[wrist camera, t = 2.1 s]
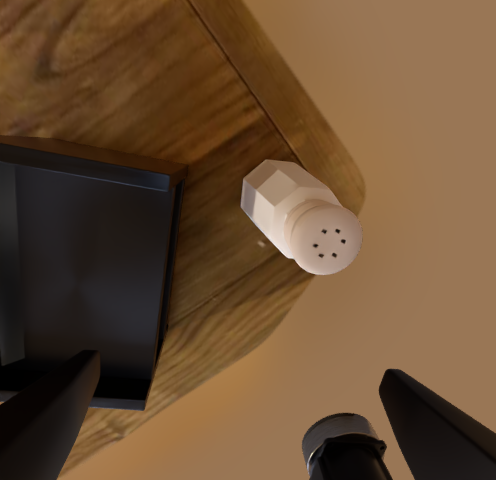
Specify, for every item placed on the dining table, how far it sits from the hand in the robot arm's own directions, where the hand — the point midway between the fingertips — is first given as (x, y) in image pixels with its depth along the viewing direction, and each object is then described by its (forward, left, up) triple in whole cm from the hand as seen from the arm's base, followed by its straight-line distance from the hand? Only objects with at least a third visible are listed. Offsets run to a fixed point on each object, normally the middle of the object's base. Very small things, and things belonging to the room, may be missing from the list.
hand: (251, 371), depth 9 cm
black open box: (+8, +2, -14) cm, 16 cm away
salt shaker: (-3, -4, -14) cm, 15 cm away
